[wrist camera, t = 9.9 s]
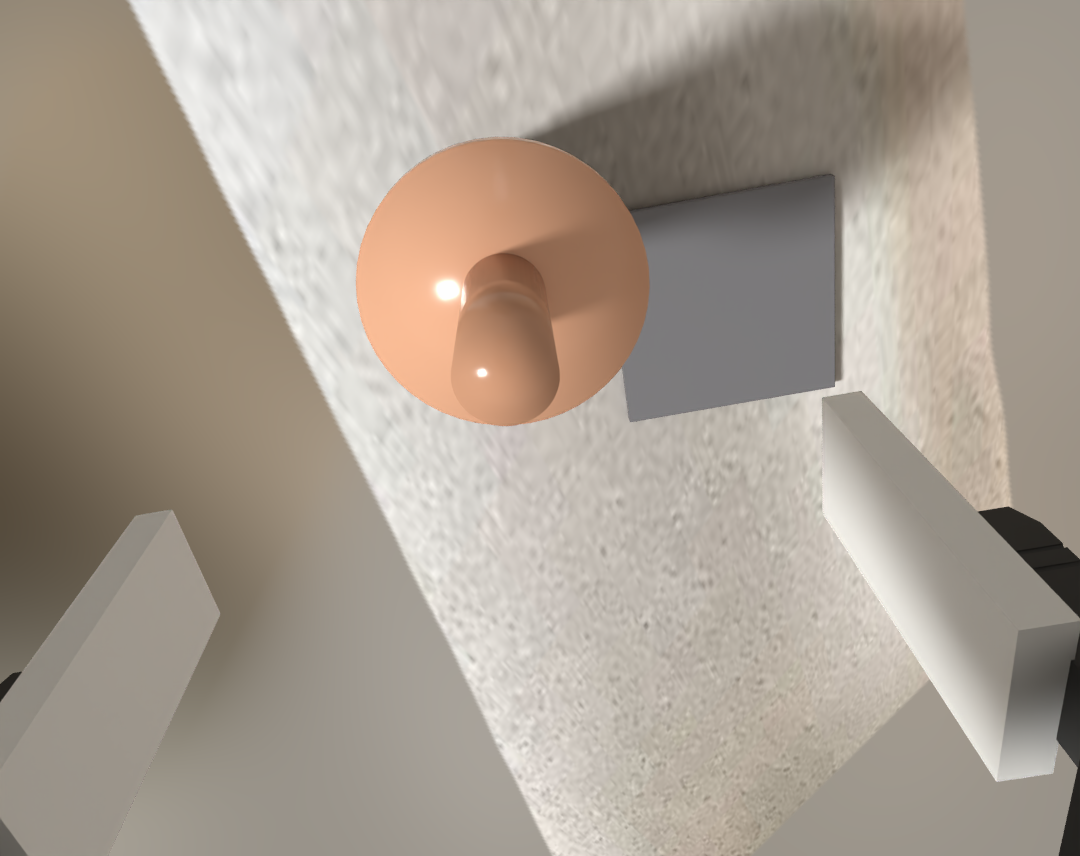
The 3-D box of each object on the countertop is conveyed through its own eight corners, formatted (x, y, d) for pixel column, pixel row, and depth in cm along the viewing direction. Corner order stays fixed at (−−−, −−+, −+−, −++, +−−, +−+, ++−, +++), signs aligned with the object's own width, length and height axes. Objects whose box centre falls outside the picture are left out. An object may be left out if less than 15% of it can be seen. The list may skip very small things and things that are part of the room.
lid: (323, 167, 29) (257, 222, 21) (627, 110, 29) (677, 144, 21) (400, 435, 34) (369, 561, 26) (659, 389, 34) (708, 504, 26)
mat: (601, 215, 45) (602, 218, 45) (830, 174, 45) (834, 175, 44) (628, 418, 51) (630, 422, 51) (831, 382, 51) (834, 386, 50)
